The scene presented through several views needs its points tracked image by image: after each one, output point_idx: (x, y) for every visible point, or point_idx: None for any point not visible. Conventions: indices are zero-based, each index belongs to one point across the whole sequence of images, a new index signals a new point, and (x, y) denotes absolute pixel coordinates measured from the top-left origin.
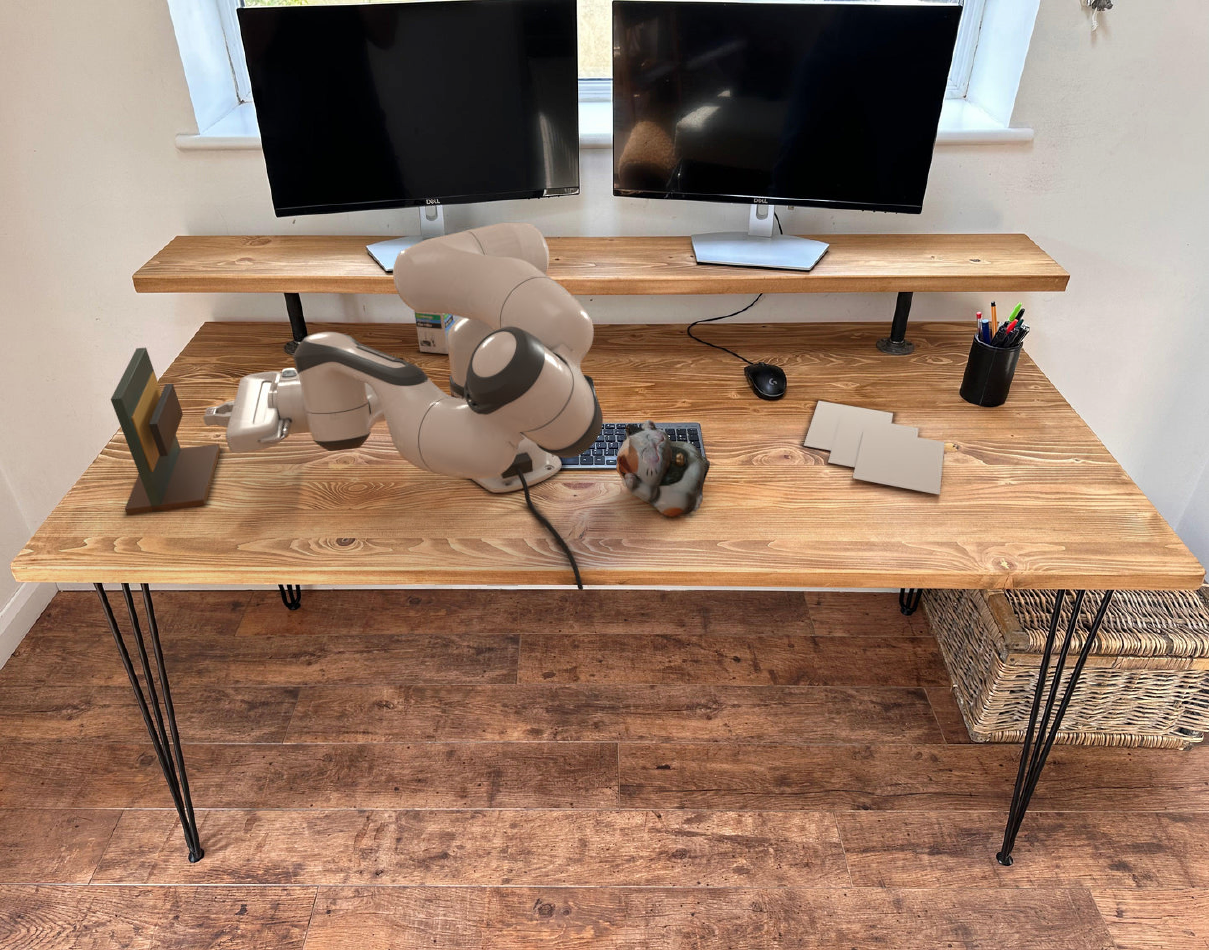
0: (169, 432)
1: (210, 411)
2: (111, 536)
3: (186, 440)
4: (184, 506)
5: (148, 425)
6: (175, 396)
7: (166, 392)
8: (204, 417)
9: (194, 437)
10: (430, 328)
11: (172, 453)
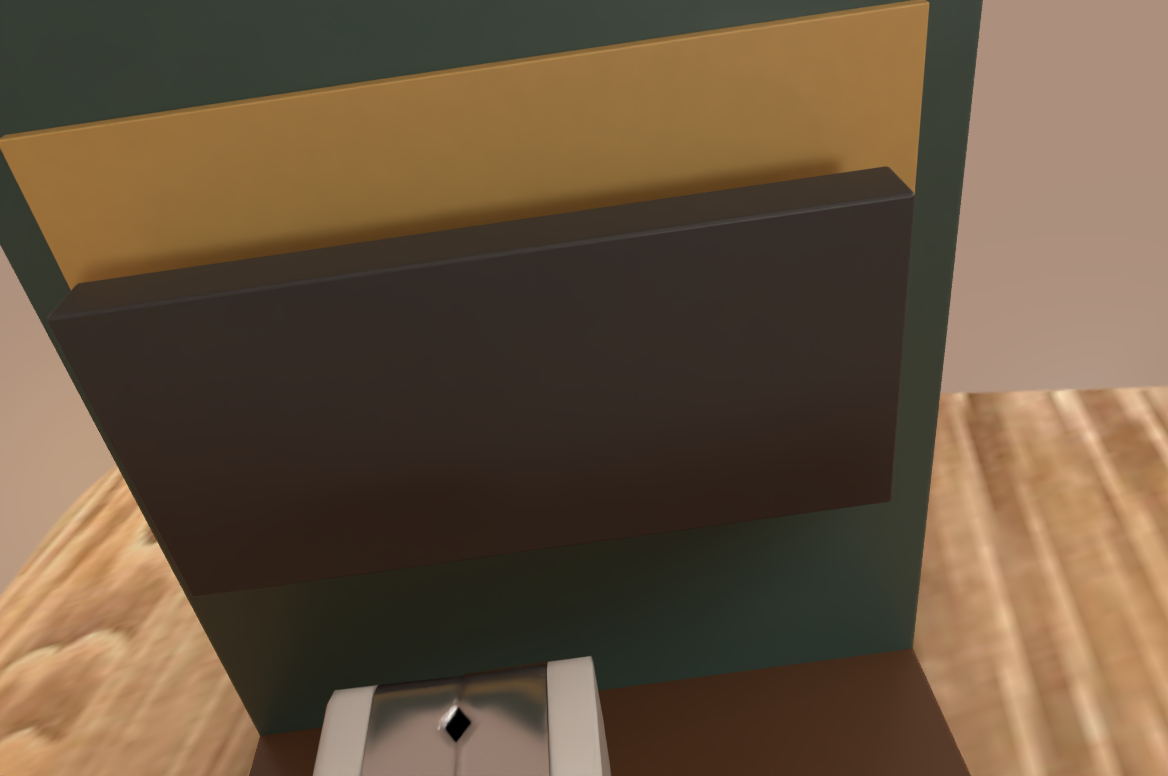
0: (377, 491)
1: (470, 730)
2: (159, 605)
3: (1082, 652)
4: None
5: None
6: (855, 320)
7: (706, 209)
8: (335, 699)
9: (1138, 688)
10: None
11: (731, 622)
